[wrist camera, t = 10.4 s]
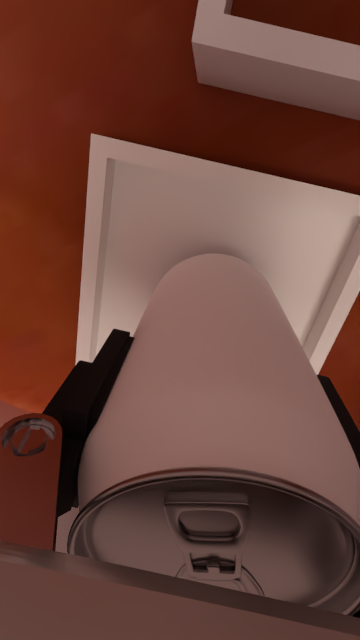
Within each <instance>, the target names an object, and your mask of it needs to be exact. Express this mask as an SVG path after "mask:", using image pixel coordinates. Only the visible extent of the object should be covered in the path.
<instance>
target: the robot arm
mask: <svg viewBox="0 0 360 640" xmlns="http://www.w3.org/2000/svg"><path fill="white" fill-rule="evenodd" d="M134 338H135V337H130V332H127V331H123V330H119V329H113V330H112V332H111V333H110V335H109V337H108V338H107V340H106V341H105V343H104V345H103V346H102V348H101V349H100V351H99V353H98V354H97V356H96V357H95V359H94V361H93V362H92V363H91V362H87V361H82V360H80V361H79V362H78V363H77V364H76V365H75V367H74V368H73V370H72V371H71V373H70V374H69V375H68V377H67V378H66V380H65V381H64V383H63V384H62V386H61V387H60V388H59V390H58V391H57V393H56V394H55V396H54V397H53V398H52V400H51V401H50V403H49V404H48V406H47V407H46V408H45V410H44V411H43V413H42V414H39V413H31V414H24V415H21V416H18V417H15V418H13V419H11V420H10V421H8V422H6V423H5V424H4V425H3V426H2V427H1V428H0V640H360V609H359V610H358V611H357V612H356V613H355V614H354V615H353V616H349V615H344V614H340V613H335V612H331V611H327V610H322V609H318V608H313V607H309V606H304V605H300V604H295V603H291V602H286V601H282V600H277V599H273V598H269V597H264V596H260V595H255V594H251V593H246V592H242V591H237V590H233V589H228V588H223V587H219V586H214V585H210V584H205V583H201V582H196V581H192V580H187V579H183V578H178V577H174V576H169V575H164V574H160V573H155V572H150V571H146V570H141V569H137V568H132V567H127V566H123V565H118V564H113V563H109V562H104V561H100V560H95V559H90V558H86V557H81V556H76V555H71V554H66V553H61V552H56V551H55V549H56V536H57V524H58V517H59V516H61V515H63V514H64V513H66V512H68V511H70V510H71V507H75V508H78V506H79V499H78V470H79V464H80V459H81V454H82V451H83V448H84V445H85V442H86V440H87V438H88V436H89V434H90V432H91V430H92V429H93V427H94V426H95V425H96V423H97V421H98V419H99V417H100V414H101V412H102V410H103V407H104V405H105V403H106V400H107V398H108V396H109V394H110V392H111V389H112V387H113V385H114V383H115V380H116V378H117V376H118V374H119V371H120V369H121V367H122V365H123V363H124V360H125V358H126V356H127V354H128V351H129V349H130V347H131V345H132V343H133V340H134ZM317 377H318V379H319V381H320V383H321V385H322V387H323V389H324V391H325V393H326V395H327V397H328V399H329V401H330V403H331V405H332V407H333V409H334V411H335V413H336V415H337V418H338V420H339V422H340V424H341V426H342V428H343V430H344V432H345V434H346V436H347V438H348V441H349V443H350V445H351V447H352V449H353V452H354V454H355V457H356V460H357V463H358V465H359V468H360V432H359V430H358V428H357V427H356V425H355V423H354V421H353V420H352V418H351V416H350V414H349V412H348V411H347V409H346V407H345V405H344V404H343V402H342V400H341V398H340V396H339V395H338V393H337V391H336V389H335V388H334V386H333V384H332V382H331V380H330V379H329V378H328V377H325V376H321V375H317Z"/></svg>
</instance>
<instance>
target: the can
mask: <svg viewBox="0 0 360 640" xmlns="http://www.w3.org/2000/svg"><path fill="white" fill-rule="evenodd" d="M133 337H135V338H134V340H133V343H132V345H131V347H130V349H129V351H128V354H127V356H126V358H125V360H124V363H123V365H122V367H121V369H120V371H119V374H118V376H117V378H116V380H115V383H114V385H113V387H112V389H111V392H110V394H109V396H108V398H107V400H106V403H105V405H104V407H103V410H102V412H101V414H100V417H99V419H98V421H97V423H96V425H95V426H94V427H93V429H92V430H91V432H90V434H89V436H88V438H87V440H86V442H85V445H84V448H83V451H82V454H81V459H80V464H79V470H78V499H79V510H80V512H79V514H78V515H77V517H76V519H75V520H74V522H73V524H72V526H71V529H70V532H69V536H68V542H67V552H68V554H71V555H76V556H81V557H86V558H90V559H95V560H100V561H104V562H109V563H113V564H118V565H123V566H127V567H132V568H137V569H141V570H146V571H150V572H155V573H160V574H164V575H169V576H174V577H178V578H183V579H187V580H192V581H196V582H201V583H205V584H210V585H214V586H219V587H223V588H228V589H233V590H237V591H242V592H246V593H251V594H255V595H260V596H264V597H269V598H273V599H277V600H282V601H286V602H291V603H295V604H300V605H304V606H309V607H313V608H318V609H322V610H327V611H331V612H335V613H340V614H344V615H349V616H353V615H354V614H355V613H356V612H357V611H358V610H359V609H360V468H359V465H358V463H357V460H356V457H355V454H354V452H353V449H352V447H351V445H350V443H349V441H348V438H347V436H346V434H345V432H344V430H343V428H342V426H341V424H340V422H339V420H338V418H337V415H336V413H335V411H334V409H333V407H332V405H331V403H330V401H329V399H328V397H327V395H326V393H325V391H324V389H323V387H322V385H321V383H320V381H319V379H318V377H317V375H316V373H315V371H314V369H313V367H312V365H311V363H310V361H309V359H308V358H307V356H306V354H305V352H304V350H303V348H302V346H301V344H300V342H299V340H298V338H297V336H296V334H295V332H294V330H293V328H292V326H291V324H290V322H289V320H288V318H287V316H286V314H285V312H284V310H283V309H282V307H281V305H280V303H279V301H278V299H277V297H276V295H275V293H274V291H273V290H272V288H271V286H270V284H269V283H268V281H267V280H266V279H265V277H264V276H263V275H262V274H261V273H260V272H259V271H258V270H257V269H256V268H255V267H253V266H252V265H251V264H249V263H247V262H246V261H244V260H242V259H239V258H237V257H234V256H230V255H225V254H203V255H198V256H194V257H191V258H188V259H186V260H184V261H182V262H180V263H179V264H177V265H176V266H174V267H173V268H172V269H170V270H169V271H168V272H167V273H166V274H165V275H164V277H163V278H162V279H161V281H160V282H159V284H158V285H157V287H156V289H155V291H154V293H153V295H152V297H151V299H150V301H149V303H148V305H147V307H146V309H145V312H144V314H143V316H142V318H141V320H140V322H139V324H138V326H137V329H136V331H135V333H134V335H133Z"/></svg>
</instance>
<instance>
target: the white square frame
mask: <svg viewBox="0 0 360 640" xmlns="http://www.w3.org/2000/svg"><path fill="white" fill-rule="evenodd" d="M232 4H233V0H199V1H198V7H197V13H196V18H195V24H194V30H193V36H192V48H193V54H194V61H195V67H196V74H197V80H198V83H202V84H206V85H210V86H214V87H219V88H223V89H227V90H232V91H236V92H240V93H244V94H249V95H253V96H257V97H261V98H266V99H270V100H274V101H279V102H283V103H287V104H291V105H296V106H300V107H304V108H309V109H313V110H317V111H321V112H326V113H330V114H334V115H338V116H343V117H347V118H351V119H356V120H360V46H359V45H355V44H351V43H346V42H342V41H338V40H334V39H329V38H325V37H321V36H317V35H312V34H308V33H304V32H300V31H295V30H291V29H287V28H283V27H278V26H274V25H270V24H266V23H262V22H257V21H253V20H249V19H245V18H240V17H236V16H232V15H230V13H231V8H232Z"/></svg>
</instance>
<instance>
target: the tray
mask: <svg viewBox="0 0 360 640" xmlns="http://www.w3.org/2000/svg"><path fill="white" fill-rule="evenodd" d="M203 254H225V255H230V256H234V257H237V258H239V259H242V260H244V261H246V262H247V263H249V264H251V265H252V266H253V267H255V268H256V269H257V270H258V271H259V272H260V273H261V274H262V275H263V276H264V277H265V279H266V280H267V281H268V283H269V284H270V286H271V288H272V290H273V291H274V293H275V295H276V297H277V299H278V301H279V303H280V305H281V307H282V309H283V310H284V312H285V314H286V316H287V318H288V320H289V322H290V324H291V326H292V328H293V330H294V332H295V334H296V336H297V338H298V340H299V342H300V344H301V346H302V348H303V350H304V352H305V354H306V356H307V358H308V359H309V361H310V363H311V365H312V367H313V369H314V371H315V373H316V375H318V373H319V371H320V369H321V367H322V365H323V363H324V361H325V359H326V357H327V355H328V353H329V351H330V349H331V347H332V345H333V343H334V341H335V339H336V337H337V335H338V333H339V331H340V329H341V327H342V325H343V323H344V321H345V319H346V317H347V315H348V313H349V311H350V309H351V307H352V305H353V303H354V301H355V299H356V297H357V295H358V293H359V291H360V196H359V195H355V194H351V193H346V192H342V191H338V190H333V189H329V188H325V187H321V186H316V185H312V184H308V183H303V182H299V181H295V180H290V179H286V178H282V177H277V176H273V175H269V174H264V173H260V172H256V171H252V170H247V169H243V168H239V167H234V166H230V165H226V164H221V163H217V162H213V161H208V160H204V159H200V158H195V157H191V156H187V155H183V154H178V153H174V152H170V151H165V150H161V149H157V148H152V147H148V146H144V145H139V144H135V143H131V142H126V141H122V140H118V139H114V138H109V137H105V136H101V135H96V134H92V133H91V142H90V157H89V172H88V186H87V201H86V216H85V231H84V245H83V260H82V275H81V290H80V304H79V319H78V334H77V349H76V363H75V365H76V364H77V363H78V362H79V361H80V360H82V361H87V362H91V363H92V362H93V361H94V359H95V357H96V356H97V354H98V353H99V351H100V349H101V348H102V346H103V345H104V343H105V341H106V340H107V338H108V337H109V335H110V333H111V332H112V330H113V329H119V330H123V331H127V332H130V337H133V335H134V333H135V331H136V329H137V326H138V324H139V322H140V320H141V318H142V316H143V314H144V312H145V309H146V307H147V305H148V303H149V301H150V299H151V297H152V295H153V293H154V291H155V289H156V287H157V285H158V284H159V282H160V281H161V279H162V278H163V277H164V275H165V274H166V273H167V272H168V271H169V270H170V269H172V268H173V267H174V266H176V265H177V264H179V263H180V262H182V261H184V260H186V259H188V258H191V257H194V256H198V255H203Z"/></svg>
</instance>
